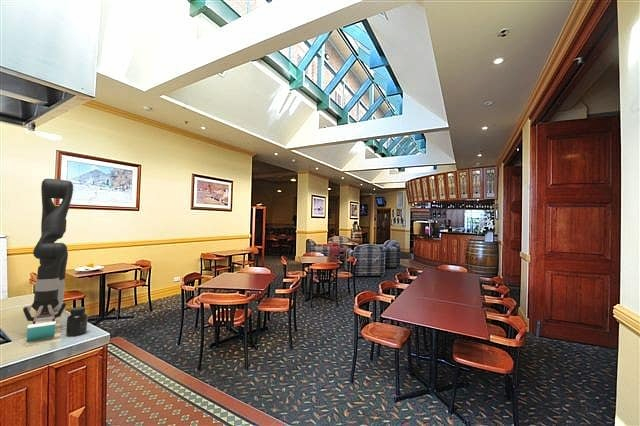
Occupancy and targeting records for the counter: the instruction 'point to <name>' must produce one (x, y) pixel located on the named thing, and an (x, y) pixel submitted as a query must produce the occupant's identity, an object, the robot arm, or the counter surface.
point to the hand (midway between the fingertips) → (43, 328)
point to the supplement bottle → (76, 322)
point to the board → (47, 340)
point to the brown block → (44, 318)
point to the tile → (40, 330)
